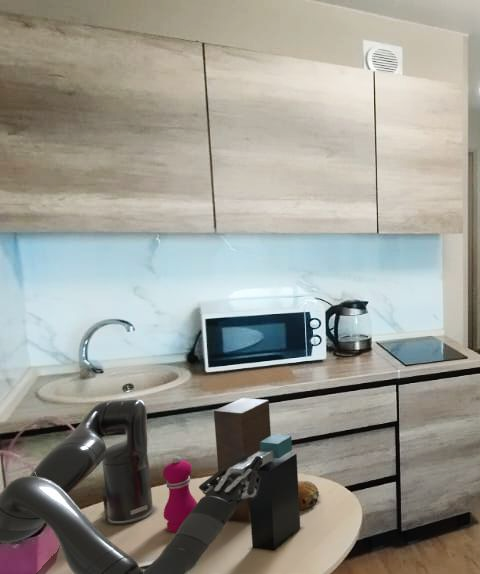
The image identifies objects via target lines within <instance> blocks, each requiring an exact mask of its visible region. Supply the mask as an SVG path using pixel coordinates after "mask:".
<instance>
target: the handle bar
mask: <svg viewBox="0 0 480 574" xmlns="http://www.w3.org/2000/svg"><path fill="white" fill-rule="evenodd" d="M292 441H293V440H292V435H285V434H276V433H275V434H274V433H273V434H271V436H270V437H268V438H266V439H264V440H263V441H261V442H260V451H258V452H257V453H255V454H253V455H252V456H250V457H248V458H246V459H245V460H243V461H241V462H240V463H238V464H236V465H234V466H233V467H231V468H230V475H231V477H232V478H238V477H239V476H242V474H243V473H244V472H245V471H246V470H247V469H248V467H249V465H250V464H251V462H252V461H253V460H254V458H255V457H256V456H260V457H261V458H262V460H263V463H262V465H261V466H263V465H265V464H266V463H268V462H269V461H271V460H273V459H274V458H280V457H282V456H283V455H285V454H286V453H291V451H292V450H293V442H292ZM261 466H260V467H261Z"/></svg>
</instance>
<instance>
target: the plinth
mask: <svg viewBox="0 0 480 574" xmlns="http://www.w3.org/2000/svg"><path fill="white" fill-rule="evenodd" d="M213 419H214V432H215V445H216V446H215V447H216V459H217V472H218V471H219V470H221V469H229V468H230V467H232V466H233V464H234V463H235V462H236V461H237V459H238V458H239V457H241V456H242V455H247V457H250V456H252V455H253V454H255V453H257V452H258V451H260V442H261V441H263V440H264V439H266V438H268V437H270V436H272V431H271V414H270V400H269V399H261V398H250V397H249V398H248V397H241V398H239V399H237V400H235V401H233V402H230V403H228V404H226V405H224V406H223V405H222V407H218V408H217V409H214V410H213ZM221 476H222V475H221ZM221 476H220V477H221ZM220 477H218V479H219V478H220ZM247 478H248V477H247ZM247 478H246V479H247ZM236 479H237V478H236ZM236 479H235V480H236ZM240 483H241V482H240ZM247 488H248V487H247ZM245 491H246V489H245ZM245 491H244V492H245ZM228 522H234V523H235V522H236V523H245V524H251V517H250V502H249V498H245V499H243V500H242V501H241V502H240V503H239V504H238V505H237V506H236V508H235V511H234V513H233V515H232V516H231V518H230V519H229V520H228Z"/></svg>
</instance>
